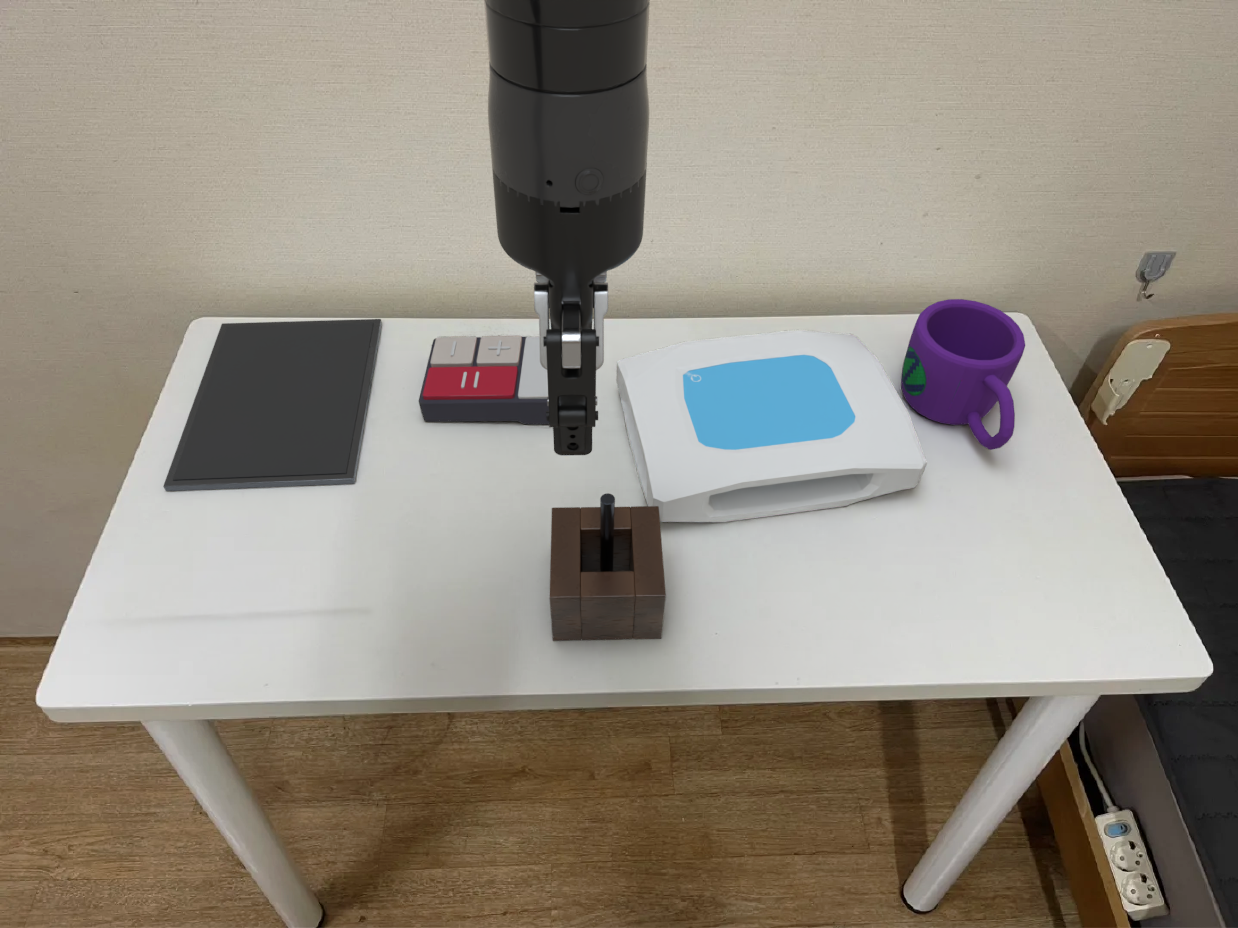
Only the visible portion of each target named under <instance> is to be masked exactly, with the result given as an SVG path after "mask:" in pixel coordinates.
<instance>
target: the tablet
mask: <svg viewBox="0 0 1238 928" xmlns="http://www.w3.org/2000/svg"><path fill="white" fill-rule="evenodd" d="M382 326H383V322H382V319H381V318H368V319H367V318H365V319H361V318H360V319H334V320H333V319H332V320H331V319H329V320H299V321H298V320H294V321H261V322H260V321H259V322H231V323H229V322H227V323H225V322H224V323H223V322H222V323H221V325H220V328H219V331H218V333H217V336H216V339H215V341H214V345H213V347H212V349H211V352H210V355H209V358H208V361H207V363H206V366H205V369H204V372H203V374H202V377H201V380H200V383H199V385H198V389H197V392H196V394H195V397H194V400H193V403H192V406H191V408H190V411H189V414H188V416H187V419H186V422H185V425H184V427H183V431H182V433H181V436H180V439H179V442H178V444H177V448H176V450H175V453H174V456H173V458H172V461H171V464H170V466H169V470H168V473H167V474H166V478H165V480H164V483H163V489H164V491H165V492H181V491H206V490H231V489H236V490H237V489H256V488H261V489H262V488H281V487H284V488H285V487H304V486H305V487H307V486H308V487H309V486H311V487H312V486H334V485H355V483H356V477H357V471H358V466H359V459H360V453H361V450H362V449H361V448H362V443H363V438H364V430H365V424H366V419H367V413H368V408H369V401H370V395H371V390H372V384H373V379H374V372H375V367H376V360H377V357H378V355H377V354H378V349H379V343H380V337H381V331H382Z"/></svg>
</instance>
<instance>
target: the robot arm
mask: <svg viewBox="0 0 1238 928" xmlns="http://www.w3.org/2000/svg"><path fill="white" fill-rule="evenodd" d="M650 1H651V0H483V2H484V12H485V13H484V15H485V26H486V40H487V41H486V43H487V52H488V67H489V76H488V77H489V78H488V94H487V123H488V124H487V125H488V133H489V134H488V136H489V148H490V158H491V171H492V182H493V183H492V184H493V196H494V206H495V207H494V208H495V221H496V232H497V239H498V242H499V244H500V246H501V248H502V249H503V251H504V252H505V254H506V255H507V256H508V257H509V258H510V259H511V260H513V261H514V262H515V263H517V264H518V265H520V266H522V267H523V268H526V269H528V270H530V271H533V272H534V273H535V282H533V309H534V313H535V314H536V315H537V316H538V320H539V321H538V328H539V330H538V332H539V335H538V336H539V338H540V364H541V366H542V367H543V368H545V369H546V370H547V377H548V397H547V406H549V411H546V420H547V421H549V424H548V426H549V428H552V431H553V432H552V433H553V451H554V453H555V454H556V455H559V456H588V455H589V454H591V453H592V452H593V428H596V421H599V410H596V408H597V407H596V406H598V396H597V370H599V369H600V368H602V367H603V365H604V362H605V339H604V338H605V332H604V331H605V329H604V328H605V327H604V326H605V321H604V319H605V318H604V317H605V316H606V315H607V314H608V311H609V282H607V276H608V271H611V270H614V269H616V268H618V267H620V266H622V265H623V264H624V263H626V262H627V261H629V260H630V259H631V258H632V257H633V256H635V253H636V252H637V251H638V249H639V248H640V246H641V244H642V241H643V236H644V224H645V223H644V222H645V204H646V185H647V170H648V169H647V167H648V163H647V162H648V150H649V149H648V148H649V147H648V145H649V130H650V98H649V91H648V89H649V88H648V76H647V75H648V74H647V70H648V69H647V68H648V65H647V60H648V46H649V45H648V43H649V42H648V41H649V23H650V6H651V5H650Z"/></svg>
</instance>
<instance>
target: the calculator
mask: <svg viewBox="0 0 1238 928" xmlns="http://www.w3.org/2000/svg"><path fill="white" fill-rule="evenodd" d="M427 360H428V362H427V364H426V369H425V373H424V377H423V380H422V385H421V390H420V393H419V398H418V405H419V409H420V412H421V415H422V420H423V422H428V423H430V422H432V423H435V422H443V423H445V422H518V423H521V424H523V425H549V421H547V420H546V411H549V406H547V397H548V377H547V370H546V369H545V368H543V367H542V366H541V364H540V338H539V335H533V336H522V335H520V334H519V335H514V334H513V335H511V334H510V335H482V336H476V335H457V336H456V335H453V336H452V335H451V336H450V335H449V336H437V337H435V338H434V339H433V340H432V344H431V347H430V352H429V357H428V359H427Z"/></svg>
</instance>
